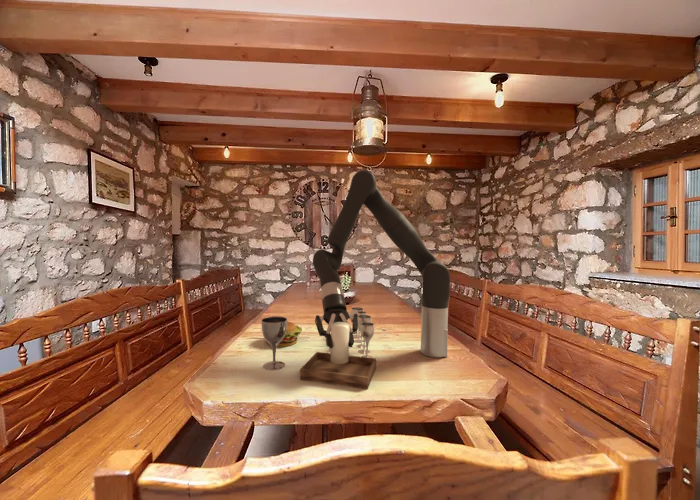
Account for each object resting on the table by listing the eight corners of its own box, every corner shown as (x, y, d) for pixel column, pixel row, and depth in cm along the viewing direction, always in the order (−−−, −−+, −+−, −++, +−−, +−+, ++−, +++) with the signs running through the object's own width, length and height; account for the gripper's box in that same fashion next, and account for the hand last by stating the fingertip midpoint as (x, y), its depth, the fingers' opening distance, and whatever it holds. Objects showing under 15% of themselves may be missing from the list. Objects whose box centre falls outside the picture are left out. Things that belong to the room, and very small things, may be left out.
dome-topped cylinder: (350, 357, 96) (351, 322, 95) (345, 365, 90) (346, 328, 90) (333, 355, 97) (334, 321, 97) (327, 362, 92) (328, 326, 91)
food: (284, 351, 112) (284, 329, 112) (257, 344, 119) (257, 323, 119) (308, 341, 124) (309, 321, 123) (283, 334, 131) (283, 316, 131)
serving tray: (376, 368, 98) (376, 358, 98) (367, 389, 85) (367, 377, 85) (316, 361, 103) (316, 351, 103) (300, 379, 90) (300, 369, 90)
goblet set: (376, 360, 105) (377, 321, 104) (359, 361, 104) (360, 322, 104) (362, 334, 133) (362, 304, 132) (348, 335, 132) (349, 304, 131)
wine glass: (291, 362, 102) (291, 317, 101) (278, 372, 94) (278, 323, 94) (270, 359, 104) (270, 315, 104) (256, 368, 97) (256, 321, 96)
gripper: (313, 293, 98) (319, 342, 87) (356, 291, 102) (367, 339, 91) (310, 305, 104) (315, 354, 93) (351, 304, 107) (361, 350, 97)
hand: (341, 346), depth 92 cm, fingers closed on dome-topped cylinder, 5 cm apart
